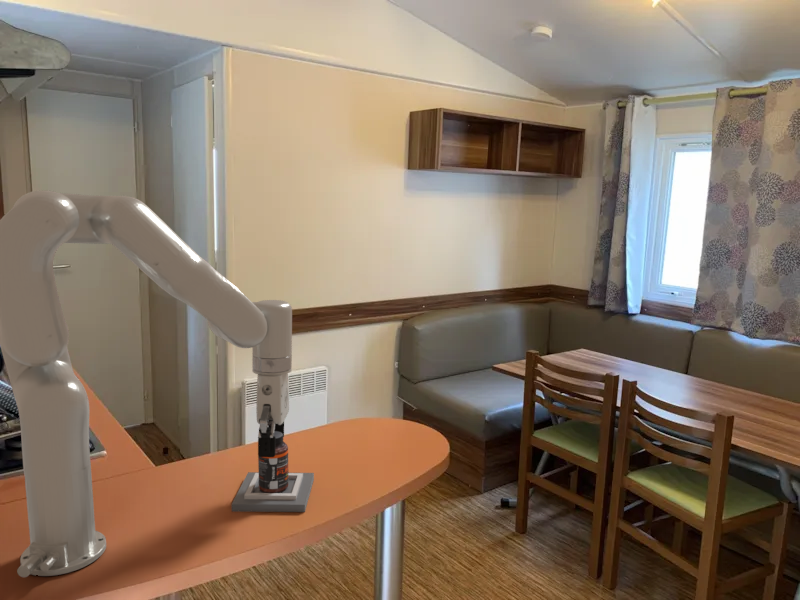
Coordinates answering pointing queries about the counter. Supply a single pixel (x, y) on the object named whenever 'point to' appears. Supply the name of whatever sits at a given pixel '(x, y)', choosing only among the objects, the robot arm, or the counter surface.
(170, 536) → the counter surface
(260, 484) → the supplement bottle
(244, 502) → the socket plate
